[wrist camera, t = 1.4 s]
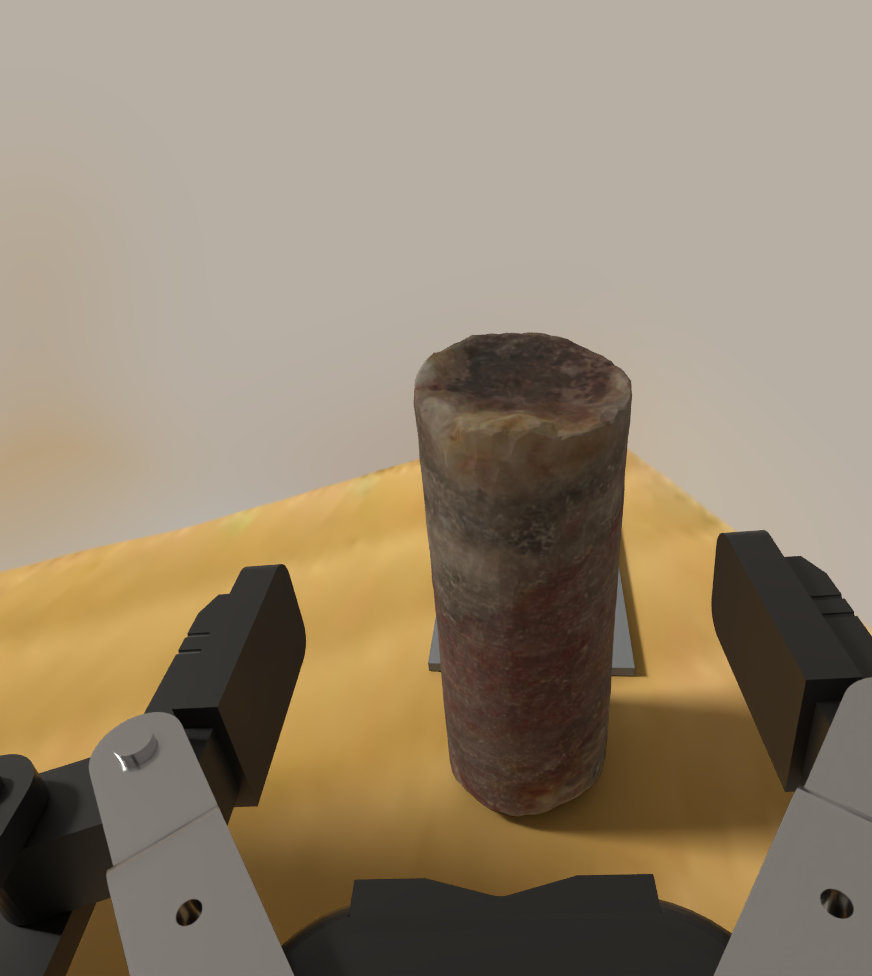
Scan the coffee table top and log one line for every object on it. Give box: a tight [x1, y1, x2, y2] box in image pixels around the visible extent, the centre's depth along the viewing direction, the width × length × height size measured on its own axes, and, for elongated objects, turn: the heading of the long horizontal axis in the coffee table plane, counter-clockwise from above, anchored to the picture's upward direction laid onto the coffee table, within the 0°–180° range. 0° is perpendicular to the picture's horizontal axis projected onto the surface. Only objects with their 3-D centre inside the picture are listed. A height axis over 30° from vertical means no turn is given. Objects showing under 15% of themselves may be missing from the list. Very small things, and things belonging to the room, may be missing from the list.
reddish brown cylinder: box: [414, 333, 632, 816], centre depth 28 cm, size 8×7×20 cm
